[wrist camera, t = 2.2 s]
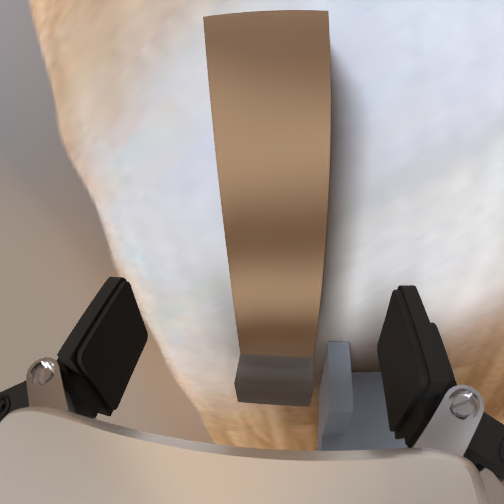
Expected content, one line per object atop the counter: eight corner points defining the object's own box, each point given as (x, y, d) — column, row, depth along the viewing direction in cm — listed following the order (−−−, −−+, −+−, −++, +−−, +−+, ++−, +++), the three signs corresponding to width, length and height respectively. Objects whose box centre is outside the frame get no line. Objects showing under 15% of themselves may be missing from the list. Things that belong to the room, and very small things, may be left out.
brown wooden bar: (232, 28, 12) (183, 10, 7) (318, 25, 12) (334, 0, 6) (254, 315, 23) (238, 401, 17) (311, 317, 22) (309, 406, 16)
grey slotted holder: (327, 341, 23) (326, 502, 13) (439, 339, 22) (471, 482, 12) (319, 389, 27) (312, 517, 17) (413, 387, 26) (428, 506, 16)
